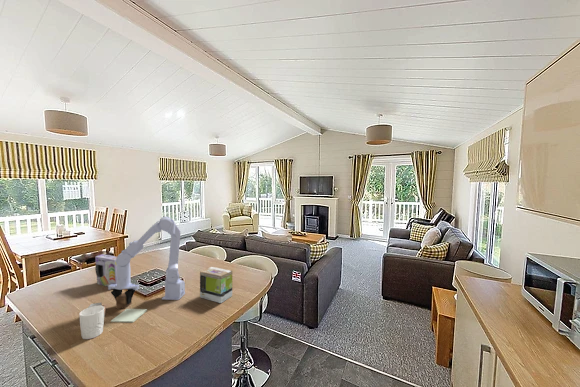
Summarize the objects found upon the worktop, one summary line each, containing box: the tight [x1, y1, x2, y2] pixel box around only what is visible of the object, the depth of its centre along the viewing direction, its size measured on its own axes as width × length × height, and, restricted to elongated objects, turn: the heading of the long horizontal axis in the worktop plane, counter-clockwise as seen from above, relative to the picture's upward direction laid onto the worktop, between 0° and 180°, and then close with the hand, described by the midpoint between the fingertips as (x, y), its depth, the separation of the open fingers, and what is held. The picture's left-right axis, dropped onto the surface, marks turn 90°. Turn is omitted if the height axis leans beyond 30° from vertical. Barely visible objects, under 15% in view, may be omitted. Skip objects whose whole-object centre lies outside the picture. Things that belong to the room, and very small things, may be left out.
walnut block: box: [115, 292, 133, 309], centre depth 118 cm, size 4×4×6 cm
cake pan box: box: [94, 254, 118, 287], centre depth 141 cm, size 19×5×18 cm, turn 68°
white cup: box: [78, 305, 105, 340], centre depth 96 cm, size 8×8×10 cm
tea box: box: [199, 266, 233, 304], centre depth 129 cm, size 15×10×15 cm, turn 65°
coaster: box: [110, 308, 148, 324], centre depth 110 cm, size 10×10×1 cm
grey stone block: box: [87, 302, 102, 308], centre depth 112 cm, size 4×4×4 cm
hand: (124, 303), depth 118 cm, fingers closed on walnut block, 4 cm apart
